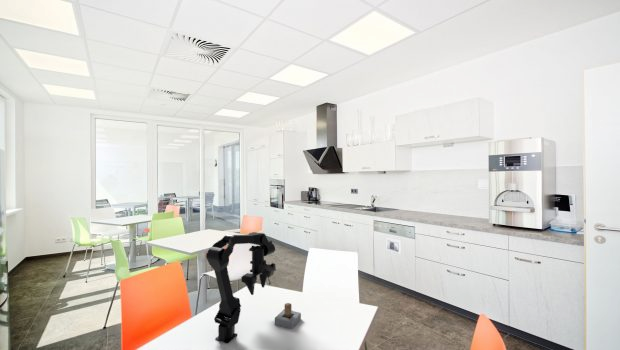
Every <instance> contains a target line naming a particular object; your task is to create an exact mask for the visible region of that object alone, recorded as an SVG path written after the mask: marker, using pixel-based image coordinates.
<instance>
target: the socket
mask: <svg viewBox="0 0 620 350" xmlns="http://www.w3.org/2000/svg"><path fill="white" fill-rule="evenodd" d="M284 315H285V308H283V309H282V310H281V311H280V312H279V313H278V314H277V315H276V316H275V317H274V325H275V326H278V327H283V328H287V329H291V330H293V329H294V328H295V326H296V325H297V324H298V323H299V322H300V321H301V320H302V313H301V312H297V311H294V310H291V318H290V319H289V318H285V317H284Z"/></svg>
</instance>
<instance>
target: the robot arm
mask: <svg viewBox="0 0 620 350" xmlns="http://www.w3.org/2000/svg"><path fill="white" fill-rule="evenodd" d="M244 244H247V245H248V244H251V247H250V248H249V249H248V251H249V252H251V260H250V261H249V264H251V269H250V270H249V272H250V273H249V272H248V273H245V274H243V275H242V276H241V280H240V281H241V283H243V284H245V286H246V288H247V290H248V291H249V294H250V295H251V296H253V295H254V293H255V285H256V283H257V282H258V281H257V279H258V276H259V281H260V286H261V288H265V286H266V282H267V279H268V278H271V276H273V275H274V274H275V273H274V272H276V271H277V269H276V267H277V266H276V263H275V262H272V263H271V264H269V263H267V260H266V259H265V257H266V256H269V255H272V254H274V253H275V252H276V247H275V245H274V243H273V240H270V239H269V240H268V238H267V236H266V234H265V233H263V232H257V231H255V232H254V231H252V232H250V233H248V234H230V233H226V234H225V235H223V237H222V238H221V239H220V240H218V241H217V242H215V243H213V245H212V246H211V247H210V248H209V249H208V250H207V252H206V254H205V255H206V257H205V258H206V259H207V261H208V262H207V263H208V265H210V267H211V268H212V270H214V275H215V279H216V283H217V288H218V291H219V296H220V302H219V305H218V307H219V308H218V311H217V312H216V315H215V317H214V319H213V320H214V323H216V324H218V330H217V331H218V336H216V337H215V338H214V339H215V341H218V342H222V343H224V344H229V343H230V342H231V341H232V340H234V339H235V338H236V337H237V336H238V333H236V332H235V330H236V327H235V325H237V324H238V323H239V320H240V315H241V307H242V304H241V303H240V302H241V301H240V298H239V297H236V296H234V293H233V289H232V283H231V280H230V279H231V278H230V276H229V270H228V266H229V265H228V264H229V262H230V256H231V255H232V254H233V251H234V247H235V245H244ZM224 247H226V248H224Z"/></svg>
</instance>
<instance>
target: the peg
mask: <svg viewBox="0 0 620 350" xmlns="http://www.w3.org/2000/svg"><path fill="white" fill-rule="evenodd" d="M284 309H285V315H284V317H285V318H289V319H290V318H291V311H292V303H290V302H286V303H285V304H284Z"/></svg>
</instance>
